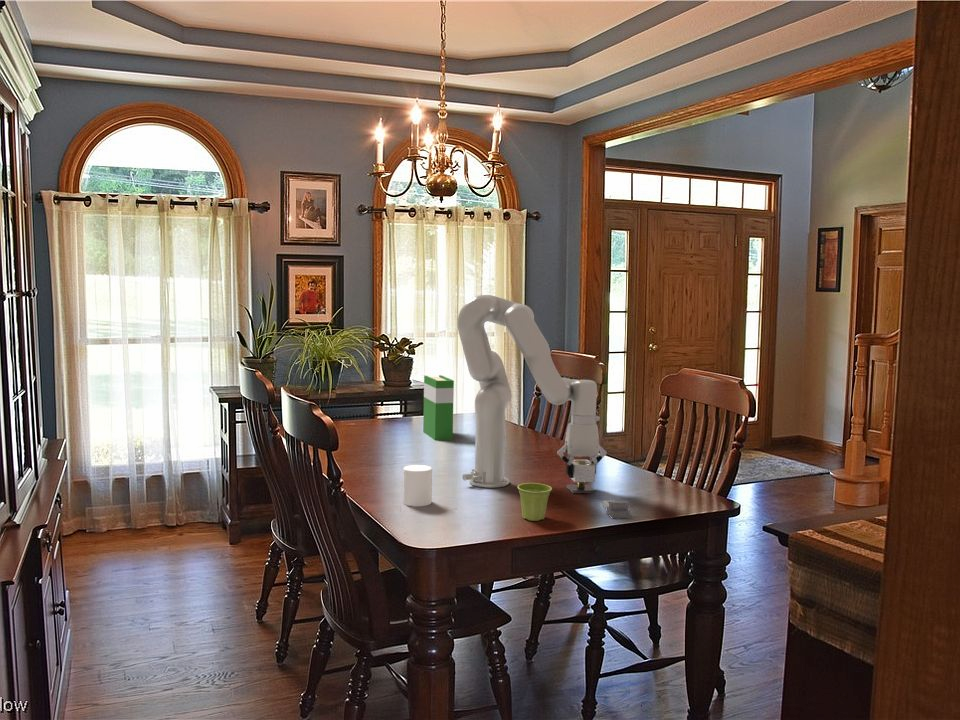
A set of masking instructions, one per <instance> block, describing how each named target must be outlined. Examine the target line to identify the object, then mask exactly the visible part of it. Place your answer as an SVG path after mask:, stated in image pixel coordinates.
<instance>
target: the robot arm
mask: <svg viewBox="0 0 960 720" xmlns="http://www.w3.org/2000/svg"><path fill="white" fill-rule="evenodd" d="M486 322H489V323H493V324H496V325H500V326H503V327H505V328H506V329H507V331H508V332H509V334H510V335H511V338H512V340H513V341H514V343H515V344H516V347H517V348H518V349H519V351H520V353H521V355H522V356H523V358H524V360H525V363H526V365H527V366H528V368H529V371H530V374H531V375H532V377H533V379H534V381H535V382H536V385H537V387H538V388H539V390H540V391H541V393H542V395H543V396H544V398H545V399H546V401H548V403H550V404H552V405H555V406H556V405H557V406H560V405H563V404H564V403H566V402H567V401H571V413H570V414H571V416H570V422H569V423H567V428H566V433H565V439H564V445H563V446H561V448H560V449H558V450H557V452H556V454H557V456H559V457H560V459H562V460H563V461H564V462H565V463H566V472H565V473H566V475H567V477H568V478H569V479H571V478H572V473H573V466H572V462H573V460H575V458H579V457H580V458H584V457H585V458H588V457H589V459H590V462H591V463H593V464H594V465H595V475H596V474H597V466H598V464H599V463H600V462H601V461H602V460H603V458H604V457H605V456H606V455H607V453H608V452H607V451H606V450H605V449H604V447H602V446H601V445H600V437H599V436H600V435H599V427H598V424H597V422H598V421H600V420H601V416H598V415H597V414H596V413H597V396H598V395H597V394H598V392H597V391H598V384H597V382H595V380H591V379H573V378H568V377H562V376H561V374H560V373H559V371H558V370H557V368H556V365H555V364H554V361H553V359H552V356H551V355H552V354H551V348H550V345H549V343H548V342H547V339H546V338H545V336H544V335H543V333H542V332H541V331H542V330H541V329H540V328H539V326H538V325H537V323H536V321H535V314H534V312H533V310H532V308H530V306H528V305H526V304H523V303H519V302H515V301H512V300H509V299H505V298H502V297H499V296H496V295H492V294H480V295H476V296H473V297H472V298H470V299H469V300H467V301H466V302H465V303H464V305H463V306H462V307H461V308H460V311H459V313H458V315H457V323H456V324H457V330H458V334H459V338H460V342H461V346H462V350H463V353H464V358H465V361H466V365H467V366H466V367H467V368H468V369H467V370H468V373H469V375H470V377H471V379H473V380H475V381H476V382H478V383H479V387H480V389H479V391H477V394H475V395H476V396H475V399H474V414H475V416H474V417H475V446H474V448H475V450H474V468H473V469H472V470H471V472H470V473H464V474H463V475H462V480H463V481H469V484H471V485H472V486H474V487H479V488H486V489H487V488H490V489H491V488H493V489H494V488H496V489H497V488H502V487H506V486H508V485H509V484H510V479H509V478H508V477H506V476H505V467H506V465H505V464H506V429H507V428H506V425H507V424H506V408H507V407H508V406H509V405H510V403H511V401H512V390H511V385H510V382H509V380H508V376H507V372H506V369H505V365H504V362H503V360H502V358H501V356H500V355H499V354H498V353H497V352H495V351H494V350H492V348H491V345H490V342H489V337H488V334H487V332H486V330H485V323H486ZM564 453H565V454H567V456H565V454H564Z"/></svg>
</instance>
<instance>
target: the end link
mask: <svg viewBox="0 0 960 720" xmlns="http://www.w3.org/2000/svg"><path fill="white" fill-rule="evenodd" d="M591 462H592V461H591V460H589V459H573V462H572V466H573V473H572V478H570V479H571V480H572V481H573V482H574V483H577V482H585V483H587V482H588V483H591V482H594V483H595V482H596V474H595V465H594V464H593V463H591Z"/></svg>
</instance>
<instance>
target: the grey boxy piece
mask: <svg viewBox="0 0 960 720" xmlns="http://www.w3.org/2000/svg"><path fill="white" fill-rule="evenodd" d="M608 501H609V507H607V510H606V514H607V515H608V516H609V515H610V516H611V517H612V518H623V519H630V516H631V515H630V514H631V511H630V510H629V502H628V500H608ZM610 516H609V517H610ZM611 517H610V518H611ZM612 518H611V519H612Z"/></svg>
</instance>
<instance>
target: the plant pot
mask: <svg viewBox="0 0 960 720" xmlns="http://www.w3.org/2000/svg"><path fill="white" fill-rule="evenodd" d="M517 489H518V492H519V496H520V505H521V517H522V519H524V520H525V519H526V520H527V521H531V522H532V521H535V522H538V521H541V520H545V518H546V511H547V505H548V500H549V496H550V494H551V491H553V489H552V486H550V485H549V484H544V483H537V482H526V483H525V482H524V483H521V484H518V485H517Z"/></svg>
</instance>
